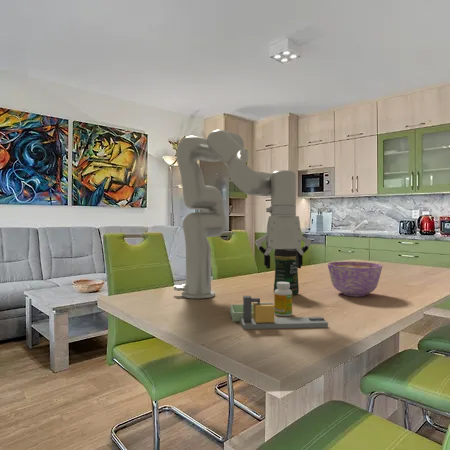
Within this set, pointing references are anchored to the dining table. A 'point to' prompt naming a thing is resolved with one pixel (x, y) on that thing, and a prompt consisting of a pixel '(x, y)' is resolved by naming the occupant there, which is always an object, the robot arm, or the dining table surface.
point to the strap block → (263, 312)
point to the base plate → (287, 323)
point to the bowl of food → (354, 277)
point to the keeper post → (248, 308)
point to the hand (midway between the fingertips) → (283, 267)
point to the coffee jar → (286, 269)
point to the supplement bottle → (283, 299)
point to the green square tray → (237, 312)
